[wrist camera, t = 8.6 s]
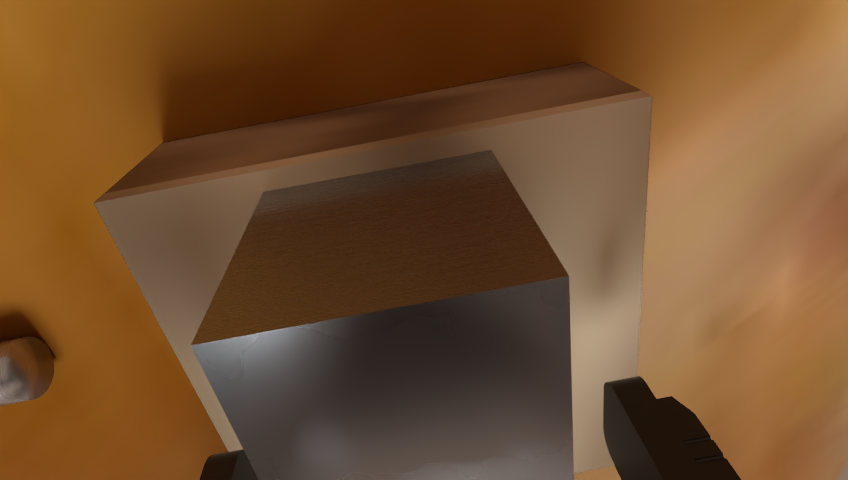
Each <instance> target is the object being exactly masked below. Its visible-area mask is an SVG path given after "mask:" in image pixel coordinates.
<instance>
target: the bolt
mask: <svg viewBox="0 0 848 480" xmlns="http://www.w3.org/2000/svg"><path fill="white" fill-rule="evenodd" d="M53 375H54V361H53V357H52V354H51V351H50V350H49V348H48V347H47V345H46V344H45V343H44V342H43V341H41V340H40V339H38V338H35V337H23V338H18V339H13V340H8V341H2V342H0V406H1V405H6V404H12V403H17V402H22V401H28V400H33V399H36V398H38V397H40V396H42V395H43V394H44V393H45V392H46V391H47V389H48V388H49V386H50V384H51V382H52V379H53Z"/></svg>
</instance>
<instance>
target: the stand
mask: <svg viewBox="0 0 848 480" xmlns="http://www.w3.org/2000/svg"><path fill="white" fill-rule="evenodd" d="M651 112H652V95H650V94H648V93H645V92H643V91H641V90H639V89H637V88H635V87H633V86H631V85H629V84H627V83H625V82H623V81H621V80H619V79H617V78H615V77H613V76H611V75H609V74H607V73H605V72H603V71H601V70H599V69H597V68H595V67H593V66H591V65H589V64H587V63H584V62H582V63H577V64H572V65H566V66H561V67H556V68H551V69H546V70H540V71H535V72H530V73H525V74H519V75H514V76H509V77H504V78H499V79H493V80H488V81H483V82H478V83H473V84H467V85H462V86H457V87H452V88H447V89H441V90H436V91H431V92H426V93H421V94H415V95H410V96H405V97H400V98H394V99H389V100H384V101H379V102H374V103H368V104H363V105H358V106H353V107H348V108H342V109H337V110H332V111H327V112H322V113H316V114H311V115H306V116H301V117H296V118H290V119H285V120H280V121H275V122H269V123H264V124H259V125H254V126H249V127H243V128H238V129H233V130H228V131H223V132H217V133H212V134H207V135H202V136H197V137H191V138H186V139H181V140H176V141H171V142H165V143H162V144H161V145H159V146H158V147H157V148H156V149H155V150H154V151H152V152H151V153H150V154H149V155H148V156H147V157H146V158H144V159H143V160H142V161H141V162H140V163H139V164H138V165H136V166H135V167H134V168H133V169H132V170H131V171H130V172H128V173H127V174H126V175H125V176H124V177H123V178H122V179H120V180H119V181H118V182H117V183H116V184H115V185H114V186H112V187H111V188H110V189H109V190H108V191H107V192H105V193H104V194H103V195H102V196H101V197H100V198H99V199H97V200H96V201H95V202H94V205H95V206H96V208H97V210H98V212H99V214H100V216H101V217H102V219H103V221H104V223H105V225H106V227H107V228H108V230H109V232H110V234H111V236H112V238H113V240H114V241H115V243H116V245H117V247H118V249H119V251H120V252H121V254H122V256H123V258H124V260H125V262H126V264H127V265H128V267H129V269H130V271H131V273H132V275H133V276H134V278H135V280H136V282H137V284H138V286H139V287H140V289H141V291H142V293H143V295H144V297H145V299H146V300H147V302H148V304H149V306H150V308H151V310H152V311H153V313H154V315H155V317H156V319H157V321H158V323H159V324H160V326H161V328H162V330H163V332H164V334H165V335H166V337H167V339H168V341H169V343H170V345H171V346H172V348H173V350H174V352H175V354H176V356H177V358H178V359H179V361H180V363H181V365H182V367H183V369H184V370H185V372H186V374H187V376H188V378H189V380H190V382H191V383H192V385H193V387H194V389H195V391H196V393H197V394H198V396H199V398H200V400H201V402H202V404H203V405H204V407H205V409H206V411H207V413H208V415H209V417H210V418H211V420H212V422H213V424H214V426H215V428H216V429H217V431H218V433H219V435H220V437H221V439H222V441H223V442H224V444H225V446H226V448H227V450H228V452H231V451H236V450H241V449H243V448H242V446H241V444H240V442H239V440H238V438H237V436H236V434H235V432H234V430H233V428H232V426H231V424H230V422H229V420H228V418H227V416H226V414H225V412H224V410H223V408H222V406H221V404H220V402H219V400H218V398H217V396H216V394H215V392H214V391H213V389H212V387H211V385H210V383H209V381H208V379H207V377H206V375H205V373H204V371H203V369H202V367H201V365H200V363H199V361H198V359H197V357H196V355H195V353H194V351H193V349H192V347H191V344H192V342H193V339H194V337H195V335H196V333H197V331H198V329H199V327H200V325H201V322H202V320H203V318H204V316H205V314H206V312H207V310H208V308H209V306H210V303H211V301H212V299H213V297H214V295H215V293H216V291H217V289H218V287H219V284H220V282H221V280H222V278H223V276H224V274H225V272H226V270H227V267H228V265H229V263H230V261H231V259H232V257H233V255H234V253H235V251H236V248H237V246H238V244H239V242H240V240H241V238H242V236H243V234H244V231H245V229H246V227H247V225H248V223H249V221H250V219H251V217H252V215H253V212H254V210H255V208H256V206H257V204H258V202H259V200H260V198H261V196H262V193H263V192H265V191H270V190H276V189H281V188H287V187H292V186H298V185H303V184H308V183H314V182H319V181H325V180H330V179H336V178H341V177H346V176H352V175H357V174H363V173H368V172H373V171H379V170H384V169H390V168H395V167H401V166H406V165H411V164H417V163H422V162H428V161H433V160H438V159H444V158H449V157H455V156H460V155H466V154H471V153H476V152H482V151H487V150H492V152H493V153H494V155H495V156H496V158H497V160H498V161H499V163H500V165H501V166H502V168H503V169H504V171H505V173H506V174H507V176H508V178H509V179H510V181H511V182H512V184H513V186H514V187H515V189H516V191H517V192H518V194H519V195H520V197H521V199H522V200H523V202H524V203H525V205H526V207H527V208H528V210H529V212H530V213H531V215H532V216H533V218H534V220H535V221H536V223H537V225H538V226H539V228H540V229H541V231H542V233H543V234H544V236H545V237H546V239H547V241H548V242H549V244H550V246H551V247H552V249H553V250H554V252H555V254H556V255H557V257H558V259H559V260H560V262H561V263H562V265H563V267H564V268H565V270H566V272H567V273H568V275H569V289H570V331H571V374H572V417H573V459H574V473H579V472H584V471H589V470H595V469H600V468H605V467H611V466H615V465H614V463H613V461H612V458H611V456H610V454H609V451H608V448H607V445H606V441H605V437H604V431H603V399H604V384H605V383H606V382H610V381H615V380H620V379H626V378H631V377H636V376H637V370H638V351H639V333H640V315H641V296H642V278H643V259H644V241H645V222H646V204H647V186H648V167H649V149H650V130H651Z"/></svg>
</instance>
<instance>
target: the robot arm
mask: <svg viewBox="0 0 848 480" xmlns="http://www.w3.org/2000/svg"><path fill="white" fill-rule="evenodd" d="M603 431H604V437H605V441H606V445H607V448H608V451H609V454H610V456H611V458H612V461H613V463H614V465H615V467H616V469H617V471H618V473H619V475H620V477H621V479H622V480H741V479H740V477H739V476H738V475H737V473H736V472H735V470H734V469H733V467H732V466H731V465H730V463H729V462H728V460H727V459H725V458H724V457H723V453H722V452H721V450H720V449H719V448H718V446H717V445H716V443H715V442H714V441H713V440H711V438H710V435H709V433H708V432H707V431H706V429H705V428H704V426H703V425H702V424H701V422H700V421H699V419H698V418H697V416H696V415H695V414H694V413H693V412H692V411H690V410H689V409H688V408H686V407H685V406H684V405H682V404H681V403H680V402H678V401H677V400H676V399H674V398H673V397H672V396H671V397H665V398H660V399H656V398H655V396H654V395H653V393H652V392H651V390H650V388H649V387H648V385H647V384H646V382H645V381H644V380H643V379H642V378H641V377H639V376H636V377H631V378H626V379H620V380H615V381H610V382H606V383H605V384H604V399H603ZM200 480H259V479H258V477H257V475H256V473H255V471H254V469H253V467H252V465H251V463H250V461H249V459H248V458H247V456H246V454H245V452H244V450H243V449H241V450H236V451H231V452H226V453H220V454H215V455H211V456H210V457H209V458H208V459H207V461H206V463H205V465H204V468H203V471H202V474H201V477H200Z"/></svg>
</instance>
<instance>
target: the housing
mask: <svg viewBox="0 0 848 480" xmlns="http://www.w3.org/2000/svg"><path fill="white" fill-rule="evenodd" d="M191 347H192V349H193V351H194V353H195V355H196V357H197V359H198V361H199V363H200V365H201V367H202V369H203V371H204V373H205V375H206V377H207V379H208V381H209V383H210V385H211V387H212V389H213V391H214V392H215V394H216V396H217V398H218V400H219V402H220V404H221V406H222V408H223V410H224V412H225V414H226V416H227V418H228V420H229V422H230V424H231V426H232V428H233V430H234V432H235V434H236V436H237V438H238V440H239V442H240V444H241V446H242V448H243V450H244V452H245V454H246V456H247V458H248V459H249V461H250V463H251V465H252V467H253V469H254V471H255V473H256V475H257V477H258V479H259V480H574V459H573V417H572V374H571V331H570V289H569V275H568V273H567V272H566V270H565V268H564V267H563V265H562V263H561V262H560V260H559V259H558V257H557V255H556V254H555V252H554V250H553V249H552V247H551V246H550V244H549V242H548V241H547V239H546V237H545V236H544V234H543V233H542V231H541V229H540V228H539V226H538V225H537V223H536V221H535V220H534V218H533V216H532V215H531V213H530V212H529V210H528V208H527V207H526V205H525V203H524V202H523V200H522V199H521V197H520V195H519V194H518V192H517V191H516V189H515V187H514V186H513V184H512V182H511V181H510V179H509V178H508V176H507V174H506V173H505V171H504V169H503V168H502V166H501V165H500V163H499V161H498V160H497V158H496V156H495V155H494V153H493V152H492V150H487V151H482V152H476V153H471V154H466V155H460V156H455V157H449V158H444V159H438V160H433V161H428V162H422V163H417V164H411V165H406V166H401V167H395V168H390V169H384V170H379V171H373V172H368V173H363V174H357V175H352V176H346V177H341V178H336V179H330V180H325V181H319V182H314V183H308V184H303V185H298V186H292V187H287V188H281V189H276V190H270V191H265V192H263V193H262V196H261V198H260V200H259V202H258V204H257V206H256V208H255V210H254V212H253V215H252V217H251V219H250V221H249V223H248V225H247V227H246V229H245V231H244V234H243V236H242V238H241V240H240V242H239V244H238V246H237V248H236V251H235V253H234V255H233V257H232V259H231V261H230V263H229V265H228V267H227V270H226V272H225V274H224V276H223V278H222V280H221V282H220V284H219V287H218V289H217V291H216V293H215V295H214V297H213V299H212V301H211V303H210V306H209V308H208V310H207V312H206V314H205V316H204V318H203V320H202V322H201V325H200V327H199V329H198V331H197V333H196V335H195V337H194V339H193V342H192V344H191Z"/></svg>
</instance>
